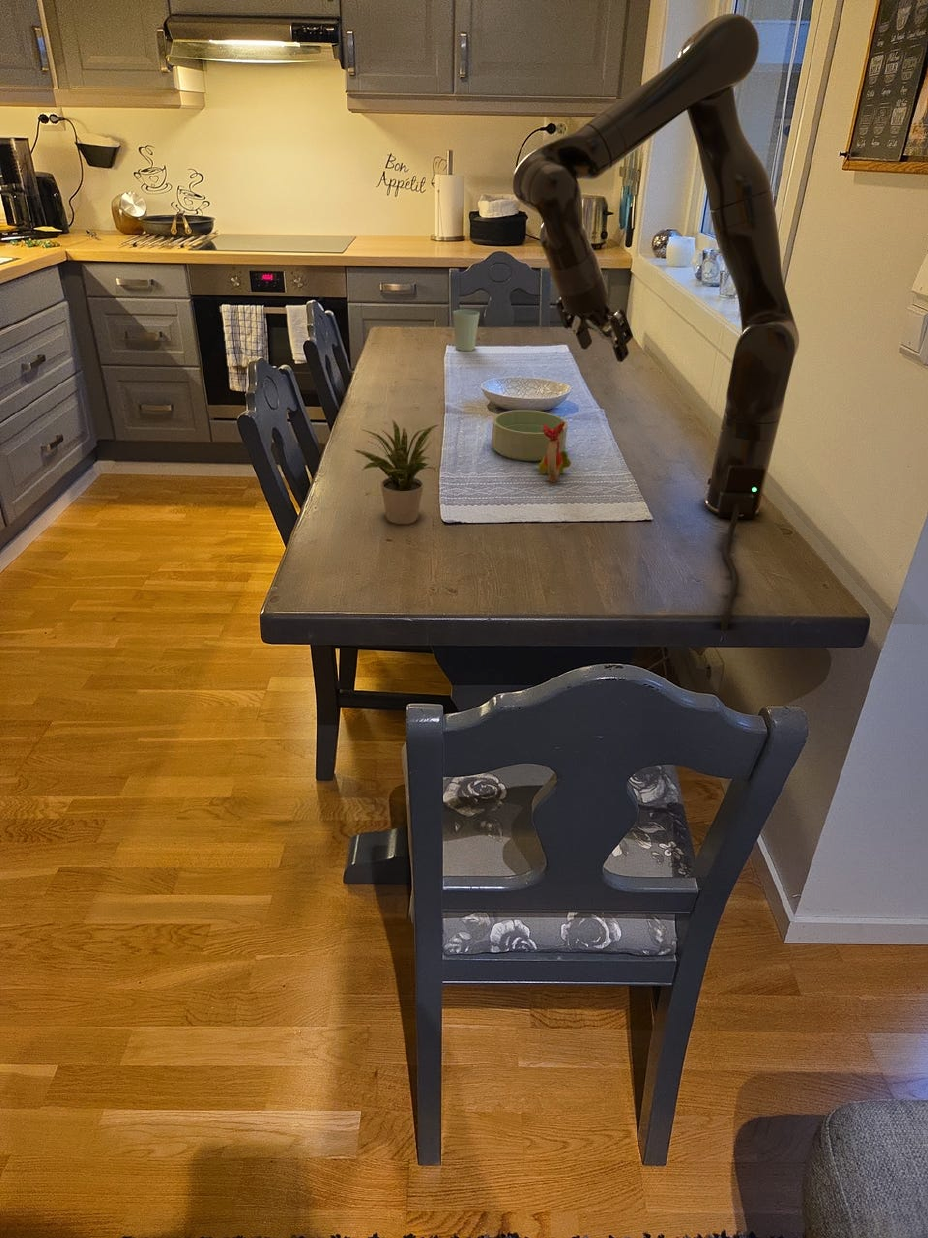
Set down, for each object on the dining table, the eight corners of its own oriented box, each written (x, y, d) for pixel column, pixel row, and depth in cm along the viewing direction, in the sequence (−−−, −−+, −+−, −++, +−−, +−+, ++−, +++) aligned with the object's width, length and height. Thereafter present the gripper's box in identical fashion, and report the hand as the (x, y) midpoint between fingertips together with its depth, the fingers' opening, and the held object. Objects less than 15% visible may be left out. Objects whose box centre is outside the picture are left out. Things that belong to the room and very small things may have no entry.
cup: (446, 349, 246) (448, 312, 241) (459, 344, 252) (461, 308, 247) (469, 353, 243) (471, 315, 238) (482, 348, 249) (484, 311, 244)
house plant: (403, 492, 152) (403, 403, 143) (462, 514, 144) (465, 421, 136) (346, 515, 142) (342, 421, 134) (405, 539, 135) (406, 442, 126)
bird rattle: (568, 493, 160) (571, 460, 165) (574, 450, 151) (576, 416, 156) (536, 490, 160) (539, 457, 166) (539, 447, 151) (542, 414, 157)
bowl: (565, 464, 167) (568, 435, 164) (489, 460, 168) (491, 430, 165) (563, 439, 180) (565, 412, 177) (492, 435, 181) (494, 408, 178)
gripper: (626, 270, 130) (649, 347, 143) (561, 253, 139) (588, 327, 152) (595, 303, 129) (621, 378, 142) (532, 284, 138) (562, 356, 151)
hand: (604, 351), depth 147 cm, fingers open, 8 cm apart
